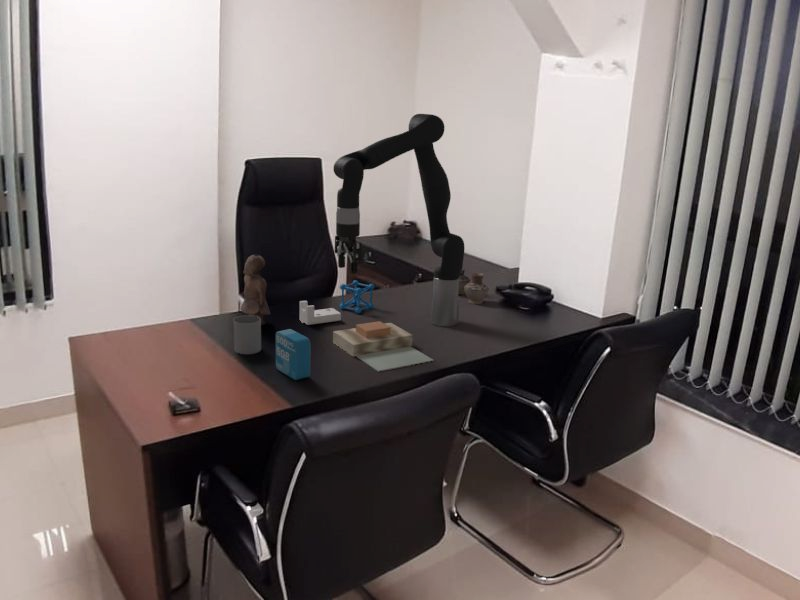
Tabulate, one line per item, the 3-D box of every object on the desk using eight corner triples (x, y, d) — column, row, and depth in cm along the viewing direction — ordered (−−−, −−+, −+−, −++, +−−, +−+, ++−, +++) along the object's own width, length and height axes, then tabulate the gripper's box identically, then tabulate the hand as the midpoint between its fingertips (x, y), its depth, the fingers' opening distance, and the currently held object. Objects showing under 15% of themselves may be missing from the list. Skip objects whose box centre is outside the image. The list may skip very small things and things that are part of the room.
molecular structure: (338, 309, 262) (338, 284, 259) (354, 303, 270) (355, 279, 267) (358, 314, 256) (359, 289, 253) (374, 308, 264) (375, 283, 261)
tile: (379, 328, 230) (379, 321, 229) (390, 334, 224) (390, 327, 223) (355, 331, 225) (355, 324, 224) (366, 338, 219) (366, 331, 219)
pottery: (471, 307, 272) (473, 278, 269) (437, 291, 293) (439, 264, 289) (494, 304, 277) (496, 275, 274) (459, 288, 298) (461, 262, 295)
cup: (237, 355, 211) (237, 324, 208) (231, 346, 218) (230, 317, 215) (264, 352, 215) (264, 321, 212) (257, 343, 222) (256, 314, 219)
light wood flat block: (390, 333, 237) (390, 322, 236) (412, 346, 226) (412, 335, 225) (333, 342, 226) (333, 331, 225) (353, 356, 214) (353, 344, 213)
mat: (410, 347, 225) (410, 346, 225) (433, 361, 214) (433, 360, 214) (356, 356, 215) (356, 355, 214) (378, 371, 204) (378, 370, 204)
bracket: (307, 327, 241) (307, 306, 238) (299, 321, 246) (299, 301, 244) (340, 322, 247) (341, 302, 245) (332, 317, 253) (332, 297, 251)
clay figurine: (234, 322, 242) (232, 252, 234) (259, 317, 248) (258, 249, 241) (252, 332, 232) (251, 260, 225) (278, 326, 239) (277, 256, 232)
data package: (275, 368, 203) (275, 330, 199) (288, 365, 206) (288, 327, 202) (297, 381, 194) (297, 342, 191) (310, 378, 197) (311, 339, 194)
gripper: (369, 224, 215) (368, 274, 220) (348, 216, 226) (347, 264, 231) (347, 225, 211) (347, 276, 216) (327, 218, 223) (327, 266, 227)
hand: (347, 270), depth 223 cm, fingers open, 8 cm apart
